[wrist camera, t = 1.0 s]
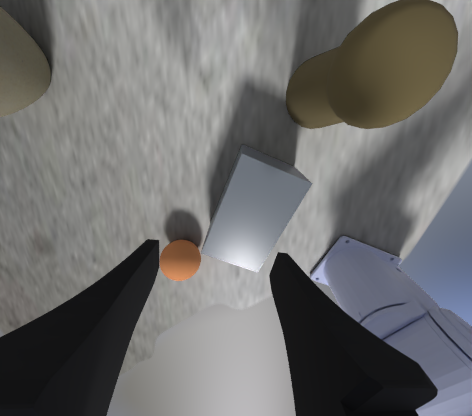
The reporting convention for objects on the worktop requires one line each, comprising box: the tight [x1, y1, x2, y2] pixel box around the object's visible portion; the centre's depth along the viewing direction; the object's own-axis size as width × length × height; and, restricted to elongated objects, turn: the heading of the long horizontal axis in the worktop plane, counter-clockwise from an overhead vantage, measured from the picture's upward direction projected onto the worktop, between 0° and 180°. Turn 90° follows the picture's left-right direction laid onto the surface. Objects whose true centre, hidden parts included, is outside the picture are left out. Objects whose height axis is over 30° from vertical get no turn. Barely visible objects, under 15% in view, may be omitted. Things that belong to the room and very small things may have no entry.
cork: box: [286, 0, 458, 129], centre depth 13 cm, size 6×6×11 cm
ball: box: [160, 240, 201, 281], centre depth 24 cm, size 5×5×5 cm
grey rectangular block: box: [201, 144, 312, 273], centre depth 20 cm, size 6×11×6 cm, turn 158°
